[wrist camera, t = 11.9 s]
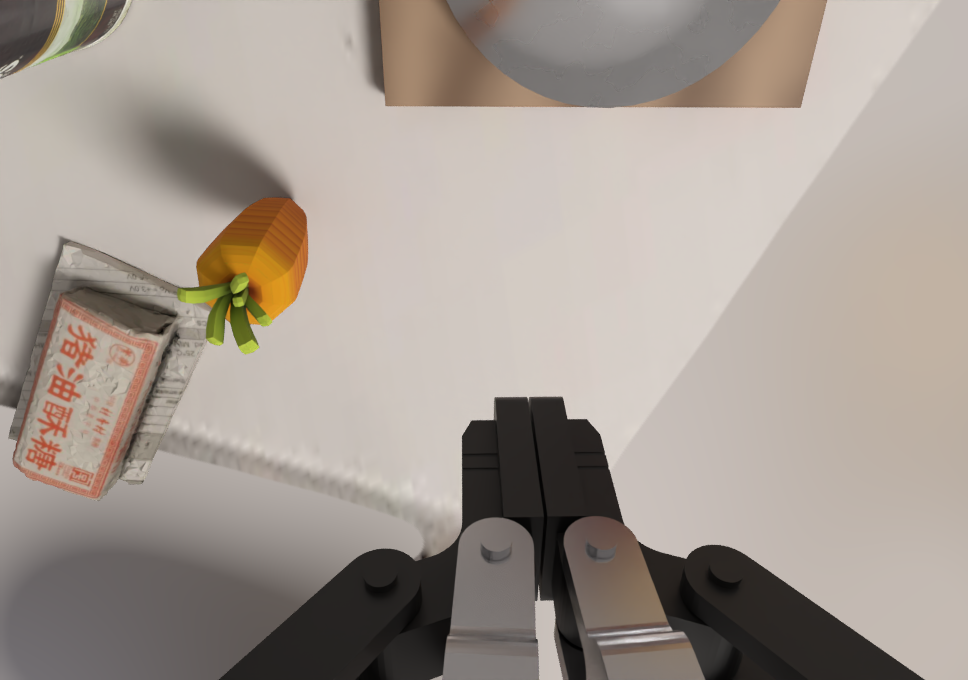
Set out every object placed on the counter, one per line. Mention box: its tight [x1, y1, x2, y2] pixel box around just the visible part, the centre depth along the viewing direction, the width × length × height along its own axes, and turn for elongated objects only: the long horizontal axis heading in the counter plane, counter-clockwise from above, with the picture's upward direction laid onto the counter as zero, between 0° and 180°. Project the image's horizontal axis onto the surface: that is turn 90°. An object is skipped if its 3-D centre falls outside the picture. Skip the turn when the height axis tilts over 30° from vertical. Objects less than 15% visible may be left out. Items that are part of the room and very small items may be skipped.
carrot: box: [177, 197, 308, 354], centre depth 36 cm, size 5×5×15 cm
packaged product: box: [9, 241, 212, 501], centre depth 47 cm, size 18×5×10 cm
